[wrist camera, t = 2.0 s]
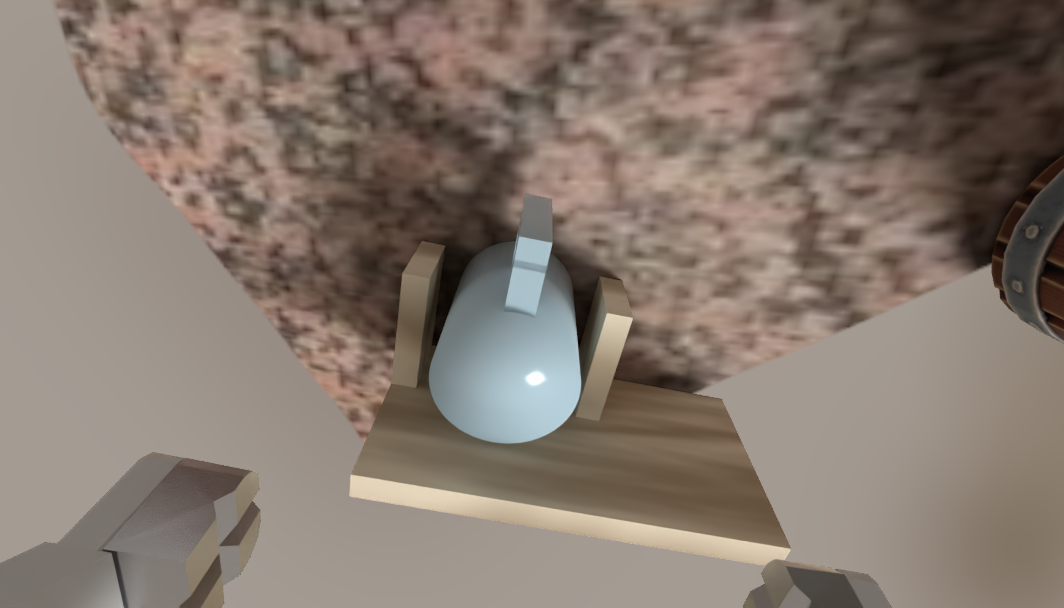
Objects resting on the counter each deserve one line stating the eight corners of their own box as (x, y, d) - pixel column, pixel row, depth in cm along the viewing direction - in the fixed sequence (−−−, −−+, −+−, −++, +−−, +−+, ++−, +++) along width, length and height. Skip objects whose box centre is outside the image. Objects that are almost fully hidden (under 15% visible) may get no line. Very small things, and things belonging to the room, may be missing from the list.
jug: (477, 171, 25) (449, 227, 18) (600, 197, 26) (620, 261, 19) (452, 332, 29) (421, 429, 22) (559, 352, 30) (562, 454, 23)
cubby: (421, 240, 27) (359, 345, 18) (762, 308, 28) (861, 438, 19) (408, 358, 30) (349, 496, 21) (714, 415, 31) (779, 568, 23)
